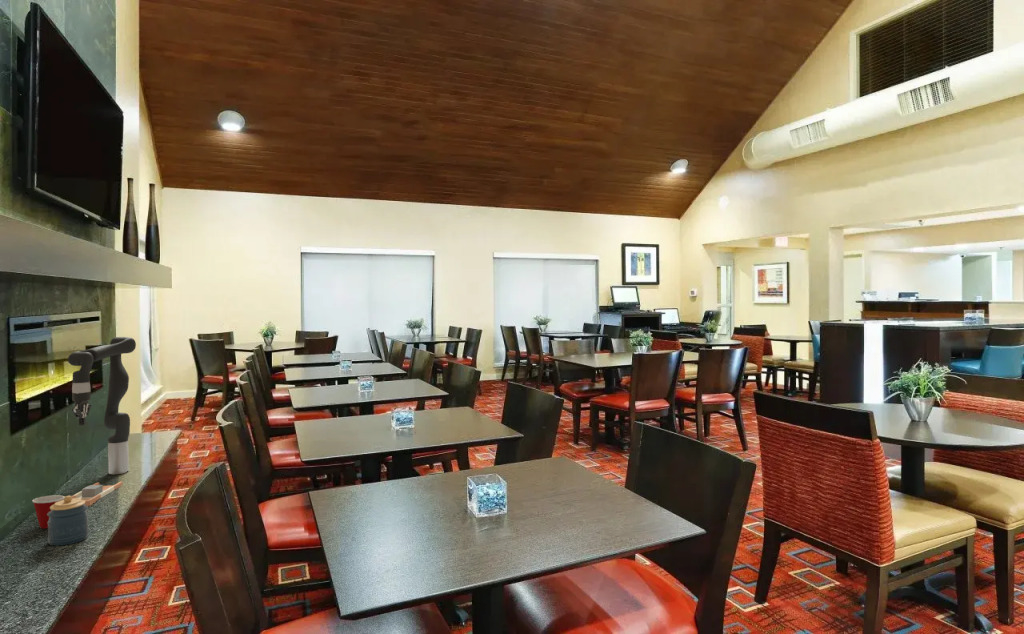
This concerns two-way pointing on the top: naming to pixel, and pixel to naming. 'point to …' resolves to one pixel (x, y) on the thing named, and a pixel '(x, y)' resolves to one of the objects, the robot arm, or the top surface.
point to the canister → (67, 521)
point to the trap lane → (92, 500)
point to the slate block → (92, 490)
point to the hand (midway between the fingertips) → (82, 425)
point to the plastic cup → (45, 508)
